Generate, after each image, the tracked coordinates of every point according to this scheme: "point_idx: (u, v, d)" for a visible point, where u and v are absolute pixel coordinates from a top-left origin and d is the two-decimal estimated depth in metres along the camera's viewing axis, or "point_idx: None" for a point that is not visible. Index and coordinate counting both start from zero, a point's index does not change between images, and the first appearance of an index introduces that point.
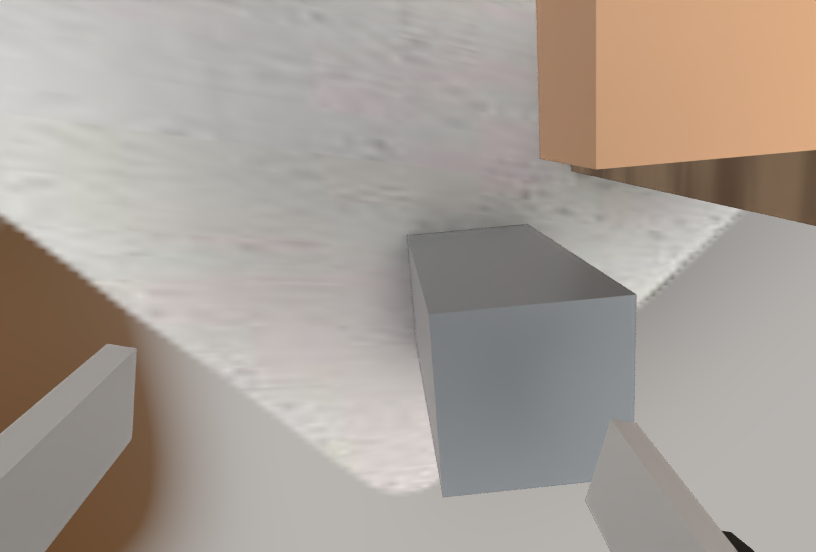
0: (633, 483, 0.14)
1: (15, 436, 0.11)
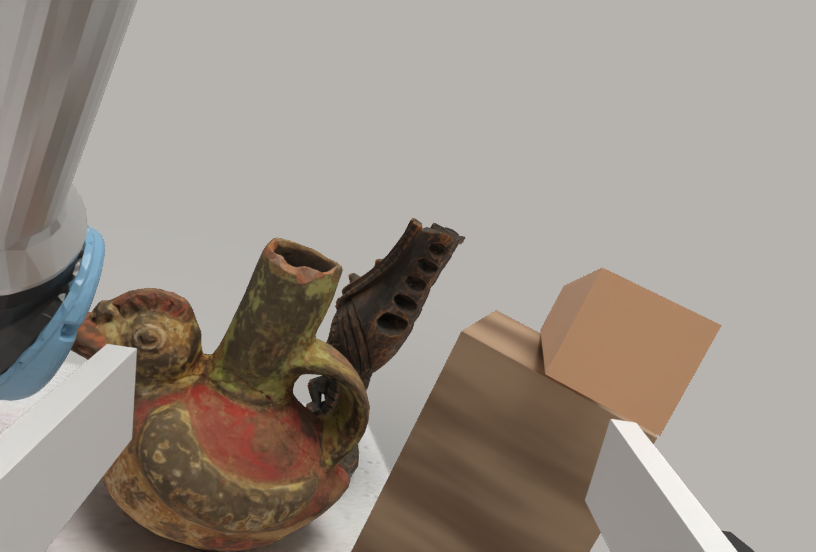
0: (633, 482, 0.14)
1: (15, 436, 0.11)
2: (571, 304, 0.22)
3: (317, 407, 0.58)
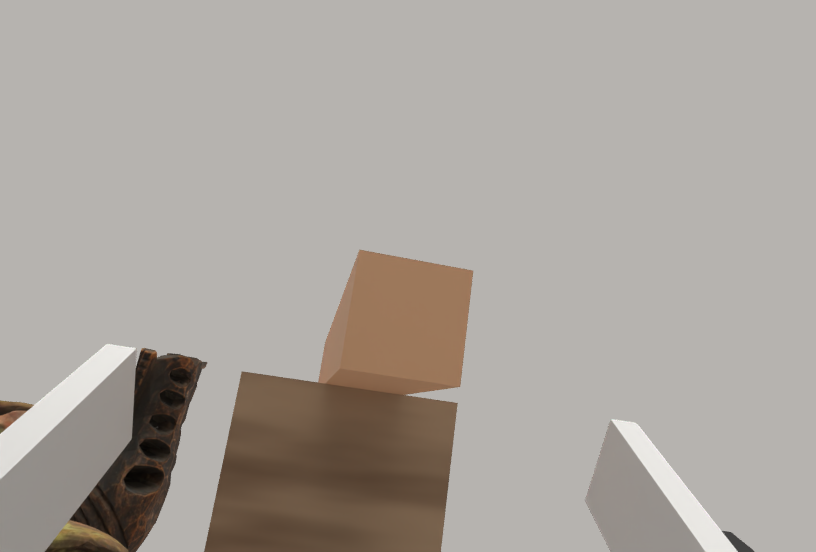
0: (633, 482, 0.14)
1: (15, 436, 0.11)
2: (340, 317, 0.22)
3: None
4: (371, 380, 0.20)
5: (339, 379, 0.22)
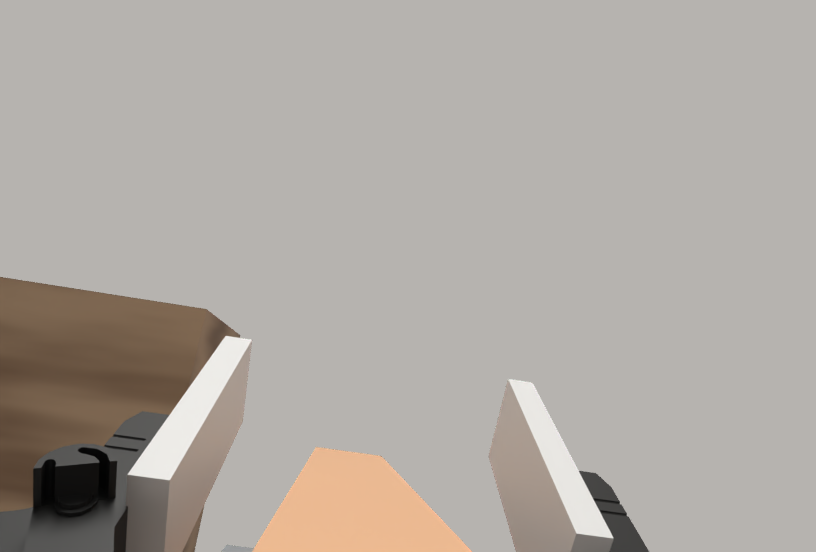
0: (518, 433, 0.15)
1: (185, 412, 0.12)
2: None
3: None
4: None
5: None
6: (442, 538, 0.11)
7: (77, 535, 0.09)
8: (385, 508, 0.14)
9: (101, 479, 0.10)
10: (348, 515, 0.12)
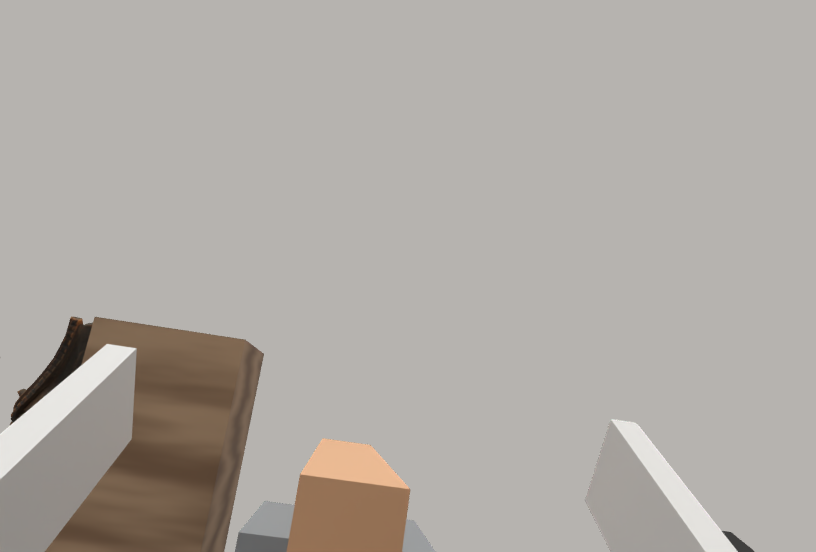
0: (633, 482, 0.14)
1: (15, 436, 0.11)
2: None
3: None
4: None
5: None
6: (389, 475, 0.22)
7: None
8: (363, 465, 0.25)
9: None
10: (343, 466, 0.23)
